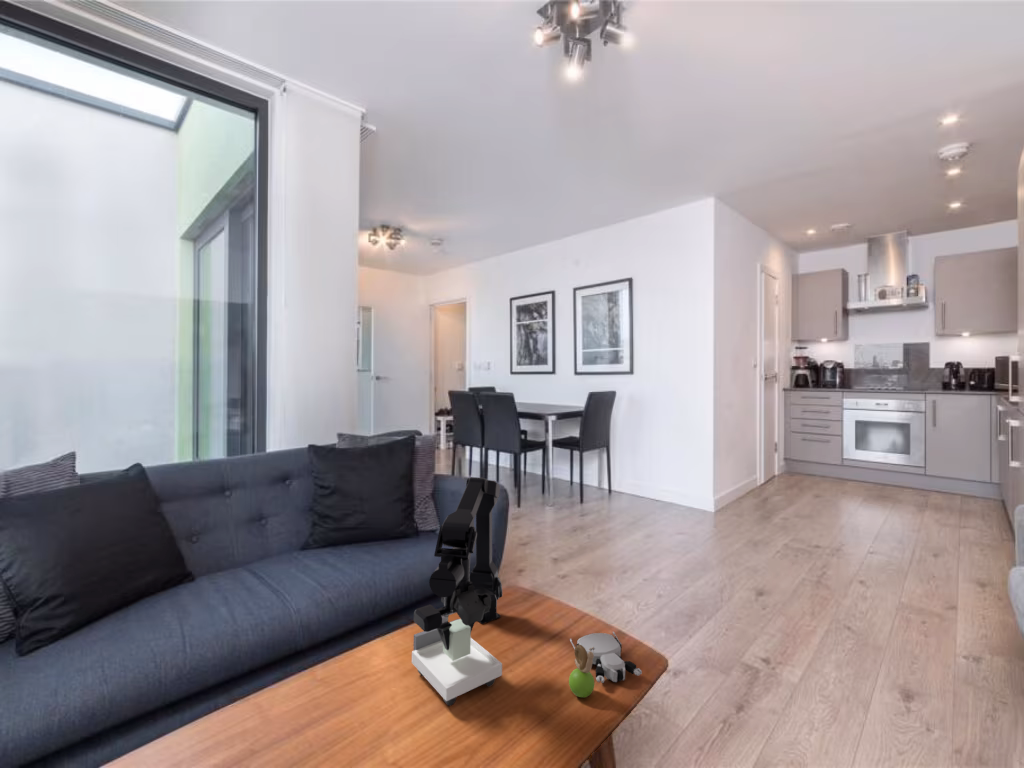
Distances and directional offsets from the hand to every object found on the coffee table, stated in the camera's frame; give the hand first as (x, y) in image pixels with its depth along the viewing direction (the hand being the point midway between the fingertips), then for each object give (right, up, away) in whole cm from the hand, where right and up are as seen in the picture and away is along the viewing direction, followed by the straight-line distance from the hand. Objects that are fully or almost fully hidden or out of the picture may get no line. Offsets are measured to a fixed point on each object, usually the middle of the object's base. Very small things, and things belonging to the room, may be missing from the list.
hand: (456, 645), depth 104 cm
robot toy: (+35, -9, +5) cm, 36 cm away
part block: (0, -2, 0) cm, 2 cm away
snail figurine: (+28, -8, -5) cm, 29 cm away
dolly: (0, -8, 0) cm, 8 cm away
